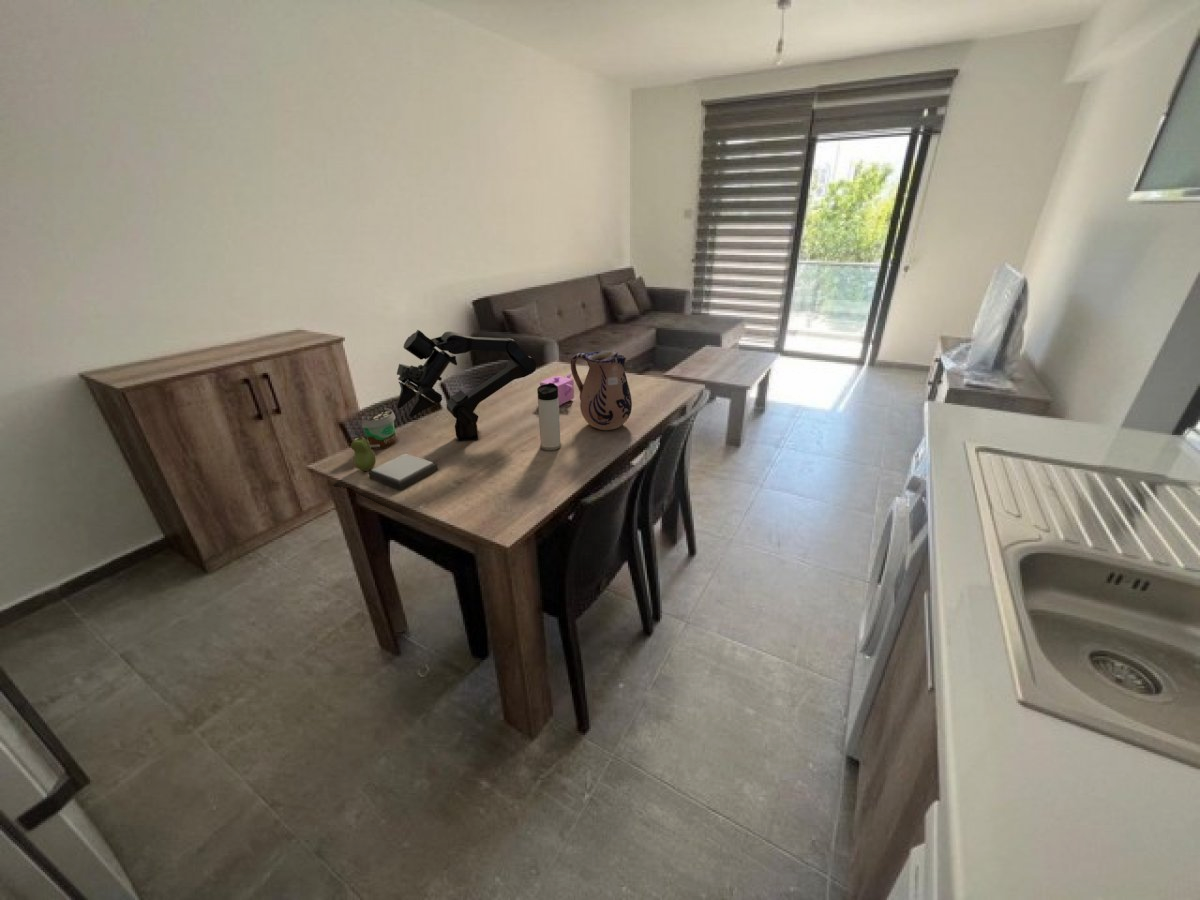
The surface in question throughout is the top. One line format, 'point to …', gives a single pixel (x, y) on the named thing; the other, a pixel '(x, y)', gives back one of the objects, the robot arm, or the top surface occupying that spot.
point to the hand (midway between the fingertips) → (403, 412)
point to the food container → (380, 429)
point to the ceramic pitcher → (603, 389)
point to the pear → (363, 454)
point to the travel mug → (549, 416)
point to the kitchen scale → (402, 471)
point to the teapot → (562, 387)
